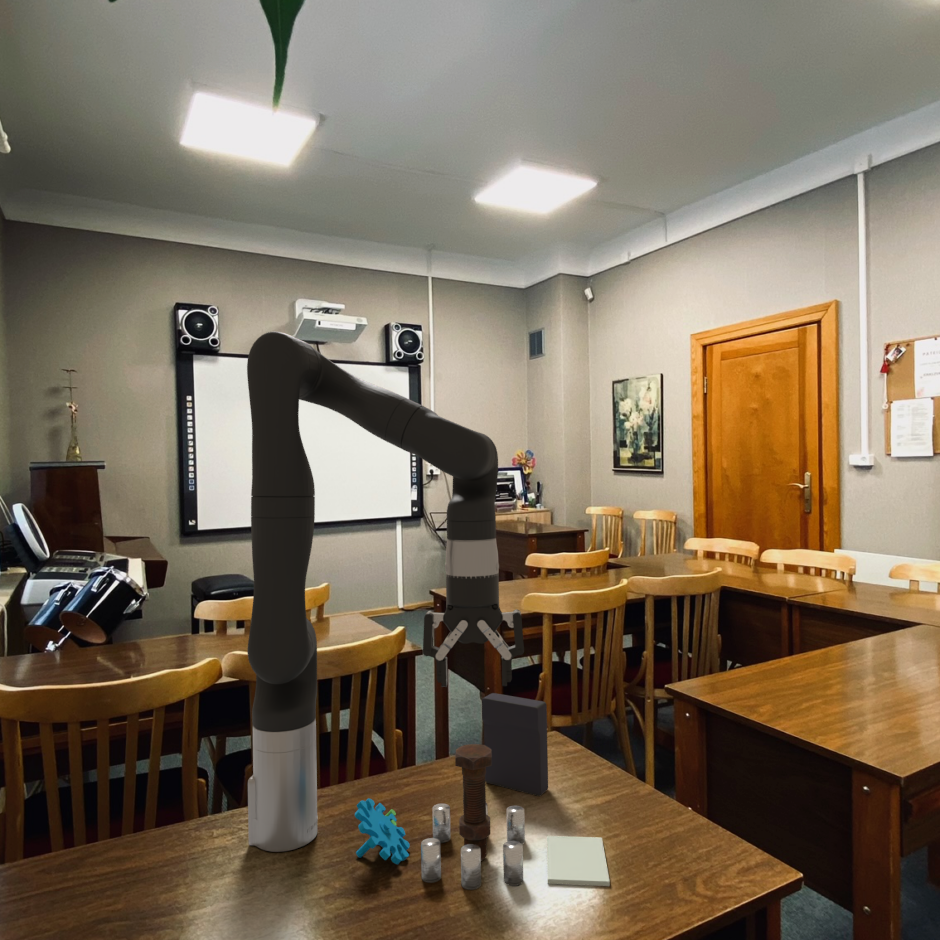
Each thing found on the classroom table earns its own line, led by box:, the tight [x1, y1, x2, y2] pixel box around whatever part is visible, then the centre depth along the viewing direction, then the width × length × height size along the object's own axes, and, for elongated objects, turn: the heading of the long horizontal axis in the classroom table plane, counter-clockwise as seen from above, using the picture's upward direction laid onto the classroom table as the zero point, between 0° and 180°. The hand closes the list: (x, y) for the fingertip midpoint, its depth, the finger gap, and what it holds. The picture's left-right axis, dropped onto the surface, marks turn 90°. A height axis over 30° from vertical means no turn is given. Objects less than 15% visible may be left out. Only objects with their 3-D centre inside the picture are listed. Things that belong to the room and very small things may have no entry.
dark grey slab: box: [481, 692, 549, 797], centre depth 119 cm, size 11×4×15 cm, turn 58°
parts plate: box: [546, 835, 611, 887], centre depth 95 cm, size 8×11×1 cm
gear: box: [354, 797, 411, 865], centre depth 98 cm, size 11×6×10 cm
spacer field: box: [420, 802, 526, 891], centre depth 96 cm, size 14×15×4 cm
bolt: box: [454, 743, 492, 861], centre depth 96 cm, size 6×5×15 cm
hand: (474, 685), depth 97 cm, fingers open, 8 cm apart
